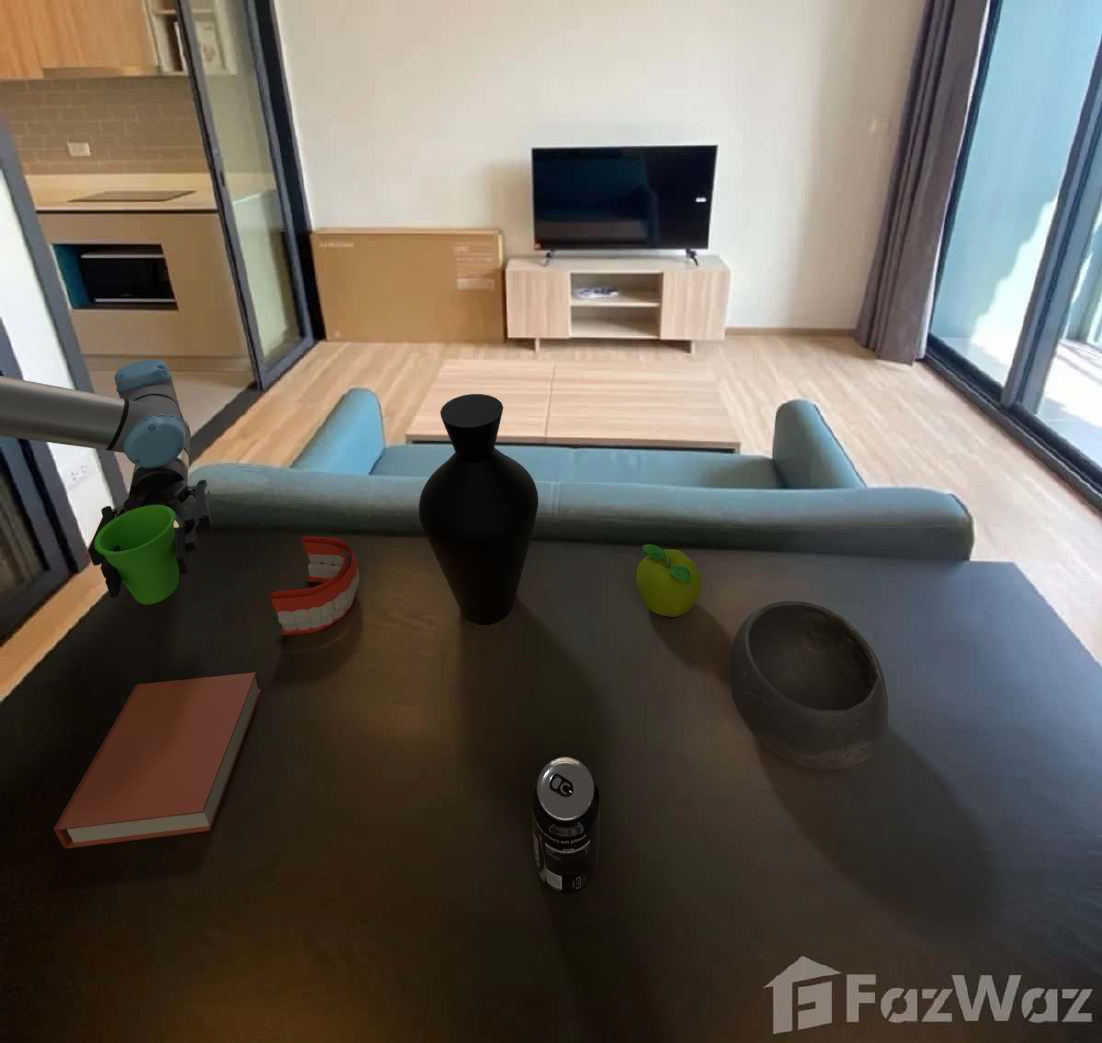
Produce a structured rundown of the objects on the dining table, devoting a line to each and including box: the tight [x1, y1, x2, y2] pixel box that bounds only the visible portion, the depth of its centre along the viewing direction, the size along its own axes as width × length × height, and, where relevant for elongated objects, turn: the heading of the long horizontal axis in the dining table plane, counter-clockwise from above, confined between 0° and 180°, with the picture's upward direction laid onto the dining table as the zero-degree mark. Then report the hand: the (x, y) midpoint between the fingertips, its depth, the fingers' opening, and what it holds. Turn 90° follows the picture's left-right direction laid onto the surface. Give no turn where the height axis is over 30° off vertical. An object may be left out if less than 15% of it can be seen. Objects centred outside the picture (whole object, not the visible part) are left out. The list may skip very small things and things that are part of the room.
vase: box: [418, 393, 539, 626], centre depth 86 cm, size 17×17×35 cm
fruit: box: [635, 543, 702, 618], centre depth 89 cm, size 9×9×10 cm
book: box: [53, 671, 262, 850], centre depth 71 cm, size 15×16×4 cm
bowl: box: [727, 600, 889, 771], centre depth 73 cm, size 18×18×13 cm
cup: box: [94, 505, 180, 605], centre depth 80 cm, size 9×9×11 cm
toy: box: [269, 535, 360, 636], centre depth 91 cm, size 12×10×8 cm
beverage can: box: [530, 756, 601, 895], centre depth 60 cm, size 7×7×12 cm
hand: (147, 576), depth 76 cm, fingers closed on cup, 7 cm apart
